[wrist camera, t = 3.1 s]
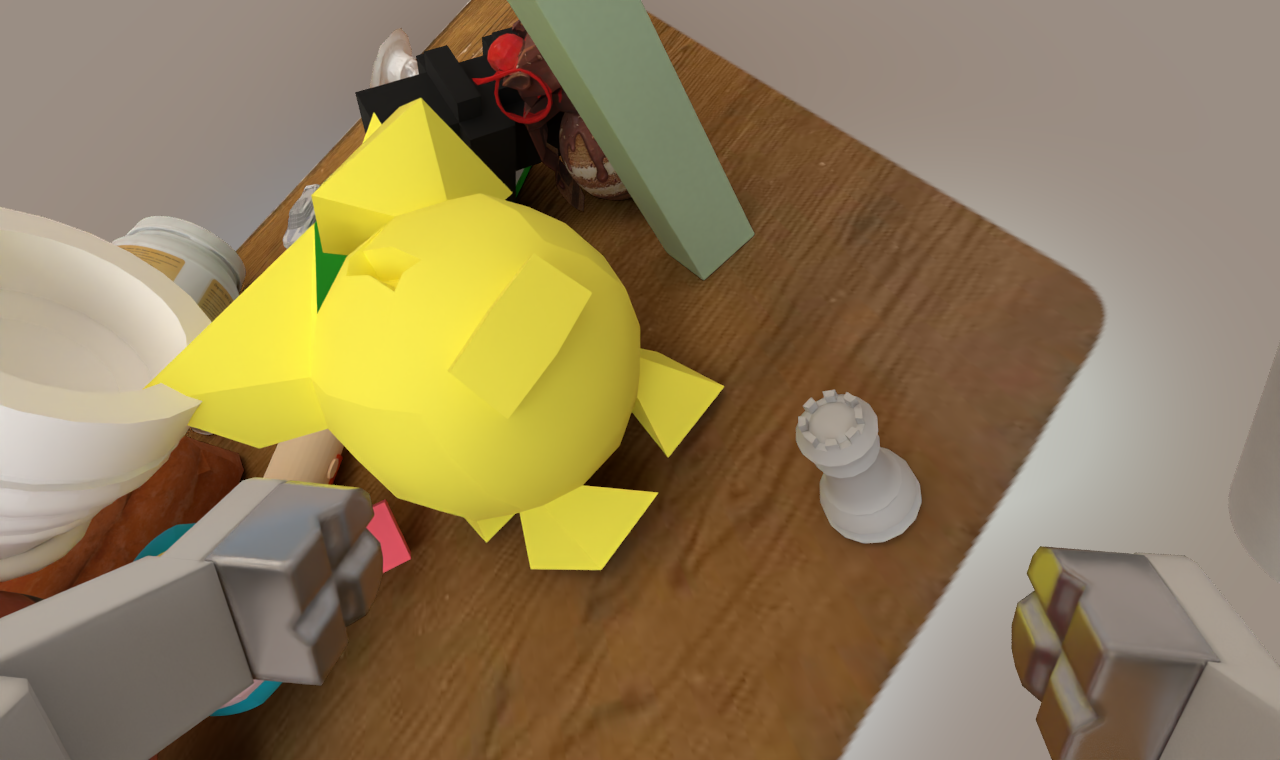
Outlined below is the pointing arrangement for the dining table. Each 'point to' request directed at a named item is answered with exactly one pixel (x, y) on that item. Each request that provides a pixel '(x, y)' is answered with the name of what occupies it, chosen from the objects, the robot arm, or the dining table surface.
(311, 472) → the toy figurine
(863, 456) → the rook chess piece
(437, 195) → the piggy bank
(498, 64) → the cherry-topped chocolate cake
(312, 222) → the toy car
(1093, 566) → the robot arm
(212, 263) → the supplement tub
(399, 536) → the hot air balloon
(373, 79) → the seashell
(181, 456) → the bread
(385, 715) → the dining table surface
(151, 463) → the white ridged vase
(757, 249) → the dining table surface
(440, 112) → the toy
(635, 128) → the pillar
